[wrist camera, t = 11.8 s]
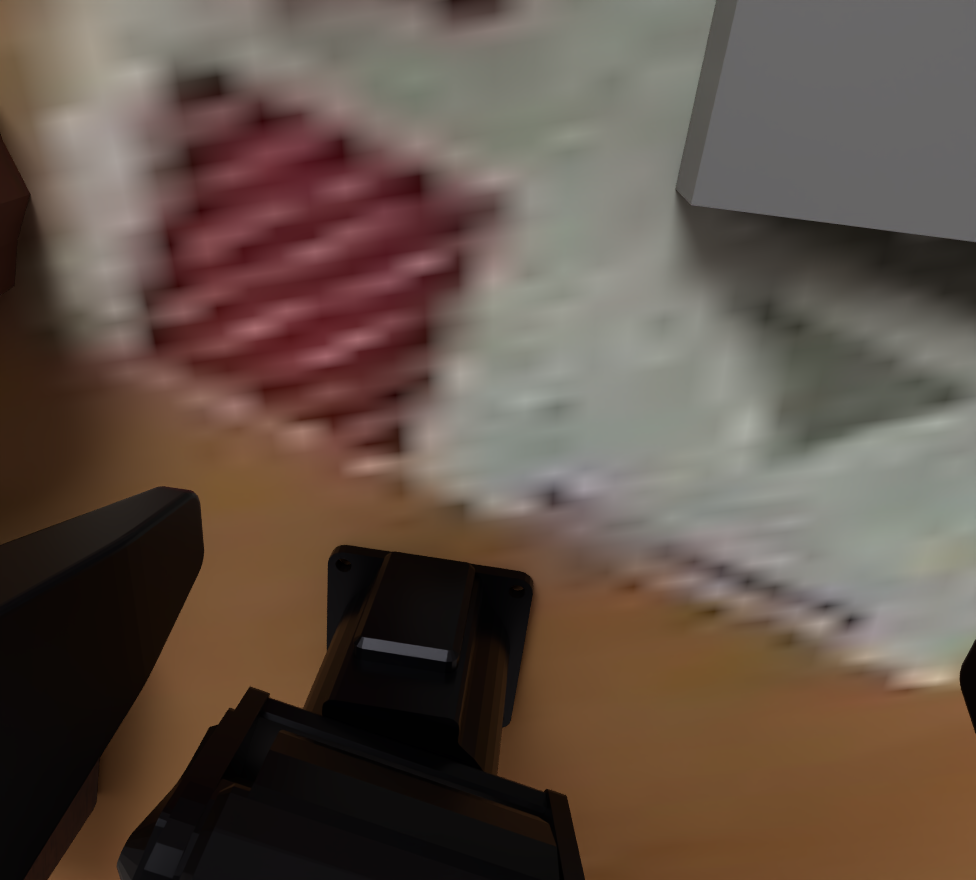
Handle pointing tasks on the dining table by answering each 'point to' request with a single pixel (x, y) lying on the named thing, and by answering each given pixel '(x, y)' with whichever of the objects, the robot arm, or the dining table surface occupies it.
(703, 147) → the hole plate
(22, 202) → the muffin
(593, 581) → the dining table surface
